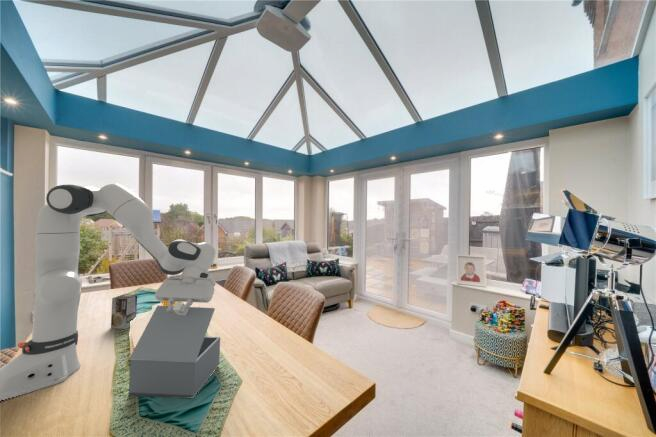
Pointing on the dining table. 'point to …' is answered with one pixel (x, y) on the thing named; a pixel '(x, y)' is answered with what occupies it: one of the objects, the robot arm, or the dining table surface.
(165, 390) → the carton
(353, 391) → the dining table surface
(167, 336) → the grey box lid
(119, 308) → the coffee box
